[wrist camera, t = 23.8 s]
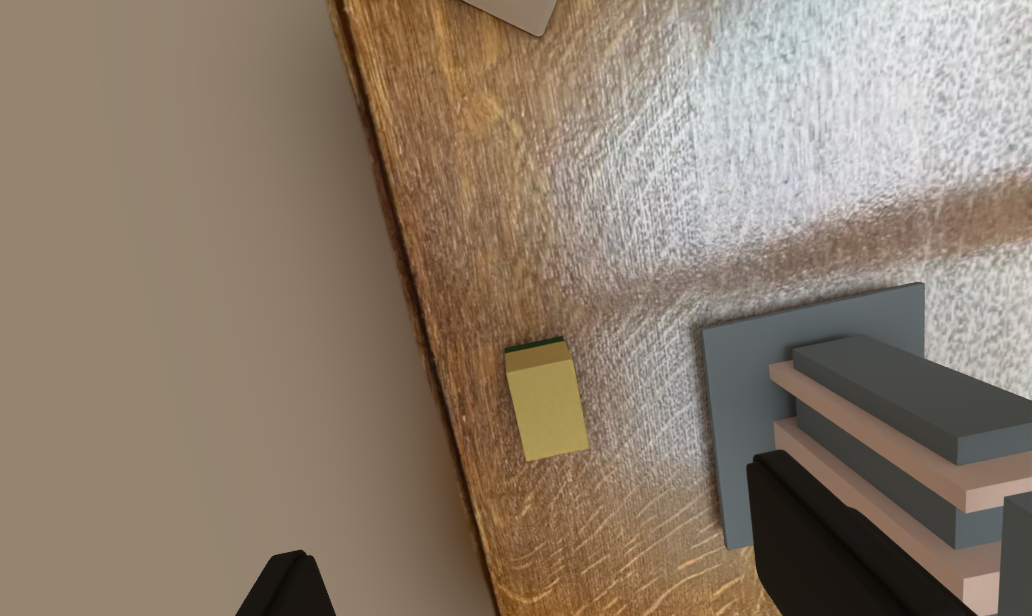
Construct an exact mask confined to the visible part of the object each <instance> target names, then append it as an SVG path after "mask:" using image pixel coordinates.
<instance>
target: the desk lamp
mask: <svg viewBox="0 0 1032 616" xmlns="http://www.w3.org/2000/svg"><path fill="white" fill-rule="evenodd" d="M924 305H925V283H921V282H914V283H910V284H905V285H900V286H895V287H891V288H886V289H881V290H876V291H872V292H867V293H862V294H857V295H853V296H848V297H843V298H838V299H834V300H829V301H824V302H819V303H815V304H810V305H805V306H800V307H796V308H791V309H786V310H782V311H777V312H772V313H767V314H763V315H758V316H753V317H748V318H744V319H739V320H734V321H729V322H725V323H720V324H715V325H710V326H706V327H701V328H699V330H700V338H701V347H702V356H703V364H704V373H705V381H706V390H707V398H708V407H709V416H710V424H711V433H712V441H713V450H714V459H715V467H716V476H717V484H718V493H719V502H720V510H721V519H722V527H723V536H724V545H725V547H726V548H727V550H731V549H736V548H741V547H746V546H750V545H754V543H753V533H752V523H751V513H750V503H749V493H748V483H747V473H746V466H747V464H748V463H753V456H754V455H756V454H760V453H765V452H770V451H774V450H779V449H782V450H785V451H786V452H788V453H789V454H790V455H791V456H792V457H793V458H794V459H795V460H796V461H798V462H799V463H800V464H801V465H802V466H803V467H804V468H805V469H806V470H808V471H809V472H810V473H811V474H812V475H813V476H814V477H815V478H816V479H818V480H819V481H820V482H821V483H822V484H823V485H824V486H825V487H826V488H828V489H829V490H830V491H831V492H832V493H833V494H834V495H835V496H836V497H838V498H839V499H840V500H841V501H842V502H843V503H844V504H845V505H846V506H849V507H852V508H855V509H857V510H858V511H859V512H861V513H862V514H863V515H865V516H866V517H867V518H868V519H869V520H870V521H871V522H873V523H874V524H875V525H876V526H877V527H878V528H879V529H880V530H882V531H883V532H884V533H885V534H886V535H887V536H888V537H890V538H891V539H892V540H893V541H894V542H895V543H896V544H897V545H899V546H900V547H901V548H902V549H903V550H904V551H905V552H907V553H908V554H909V555H910V556H911V557H912V558H913V559H914V560H916V561H917V562H918V563H919V564H920V565H921V566H922V567H924V568H925V569H926V570H927V571H928V572H929V573H930V574H931V575H933V576H934V577H935V578H936V579H937V580H938V581H939V582H941V583H942V584H943V585H944V586H945V587H946V588H947V589H948V590H950V591H951V592H952V593H953V594H954V595H955V596H956V597H958V598H959V599H960V600H961V601H962V602H963V603H964V604H965V605H967V606H968V607H969V608H970V609H971V610H972V611H973V612H975V613H976V614H977V615H978V616H1032V401H1031V400H1029V399H1026V398H1024V397H1021V396H1018V395H1016V394H1013V393H1011V392H1008V391H1006V390H1003V389H1001V388H998V387H996V386H993V385H990V384H988V383H985V382H983V381H980V380H978V379H975V378H973V377H970V376H968V375H965V374H962V373H960V372H957V371H955V370H952V369H950V368H947V367H945V366H942V365H940V364H937V363H934V362H932V361H929V360H927V359H924Z"/></svg>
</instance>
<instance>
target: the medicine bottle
mask: <svg viewBox="0 0 1032 616" xmlns="http://www.w3.org/2000/svg"><path fill="white" fill-rule="evenodd" d="M463 1H465V2H467V3H469V4H471V5H473V6H475V7H477V8H479V9H481V10H483V11H485V12H487V13H489V14H492V15H494V16H496V17H498V18H500V19H502V20H504V21H506V22H508V23H510V24H512V25H514V26H516V27H518V28H520V29H523V30H525V31H527V32H529V33H531V34H533V35H535V36H541V35H543V33H544V32H545V29H546V27H547V24H548V22H549V19H550V17H551V14H552V12H553V9H554V7H555V4H556V2H557V0H463Z"/></svg>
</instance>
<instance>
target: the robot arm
mask: <svg viewBox="0 0 1032 616" xmlns="http://www.w3.org/2000/svg"><path fill="white" fill-rule="evenodd" d="M746 473H747V483H748V493H749V503H750V513H751V523H752V533H753V543H754V553H755V562H756V570H757V573H758V576H759V579H760V581H761V583H762V585H763V587H764V589H765V590H766V591H767V593H768V594H769V596H770V597H771V599H772V600H773V602H774V603H775V605H776V606H777V608H778V609H779V611H780V612H781V614H782V615H783V616H978V615H977V614H976V613H975V612H973V611H972V610H971V609H970V608H969V607H968V606H967V605H965V604H964V603H963V602H962V601H961V600H960V599H959V598H958V597H956V596H955V595H954V594H953V593H952V592H951V591H950V590H948V589H947V588H946V587H945V586H944V585H943V584H942V583H941V582H939V581H938V580H937V579H936V578H935V577H934V576H933V575H931V574H930V573H929V572H928V571H927V570H926V569H925V568H924V567H922V566H921V565H920V564H919V563H918V562H917V561H916V560H914V559H913V558H912V557H911V556H910V555H909V554H908V553H907V552H905V551H904V550H903V549H902V548H901V547H900V546H899V545H897V544H896V543H895V542H894V541H893V540H892V539H891V538H890V537H888V536H887V535H886V534H885V533H884V532H883V531H882V530H880V529H879V528H878V527H877V526H876V525H875V524H874V523H873V522H871V521H870V520H869V519H868V518H867V517H866V516H865V515H863V514H862V513H861V512H859V511H858V510H857V509H855V508H852V507H849V506H846V505H845V504H844V503H843V502H842V501H841V500H840V499H839V498H838V497H836V496H835V495H834V494H833V493H832V492H831V491H830V490H829V489H828V488H826V487H825V486H824V485H823V484H822V483H821V482H820V481H819V480H818V479H816V478H815V477H814V476H813V475H812V474H811V473H810V472H809V471H808V470H806V469H805V468H804V467H803V466H802V465H801V464H800V463H799V462H798V461H796V460H795V459H794V458H793V457H792V456H791V455H790V454H789V453H788V452H786V451H785V450H782V449H779V450H774V451H770V452H765V453H760V454H756V455H754V456H753V463H748V464H747V466H746ZM235 616H336V614H335V611H334V609H333V606H332V604H331V601H330V598H329V595H328V593H327V590H326V587H325V585H324V582H323V579H322V577H321V574H320V571H319V569H318V566H317V563H316V561H315V559H314V557H313V556H311V555H308V556H307V555H306V553H305V552H304V551H303V550H297V551H292V552H287V553H282V554H278V555H274V556H272V557H271V559H270V560H269V561H268V563H267V564H266V566H265V568H264V569H263V571H262V573H261V574H260V576H259V577H258V579H257V581H256V582H255V584H254V586H253V587H252V589H251V591H250V592H249V594H248V595H247V597H246V599H245V600H244V602H243V604H242V605H241V607H240V608H239V610H238V612H237V614H236V615H235Z"/></svg>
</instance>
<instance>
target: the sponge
mask: <svg viewBox="0 0 1032 616" xmlns="http://www.w3.org/2000/svg"><path fill="white" fill-rule="evenodd" d="M505 362H506V375H507V379H508V384H509V388H510V392H511V397H512V401H513V406H514V410H515V414H516V419H517V423H518V427H519V432H520V436H521V441H522V445H523V449H524V454H525V458H526V461H531V460H536V459H541V458H546V457H550V456H555V455H560V454H565V453H570V452H574V451H579V450H584V449H589V442H588V436H587V431H586V426H585V421H584V415H583V410H582V405H581V400H580V394H579V389H578V384H577V379H576V373H575V368H574V363H573V359H572V357H571V354H570V352H569V350H568V348H567V346H566V343H565V341H564V339H563V337H562V336H561V337H557V338H552V339H547V340H543V341H538V342H533V343H528V344H524V345H519V346H514V347H510V348H505Z"/></svg>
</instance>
